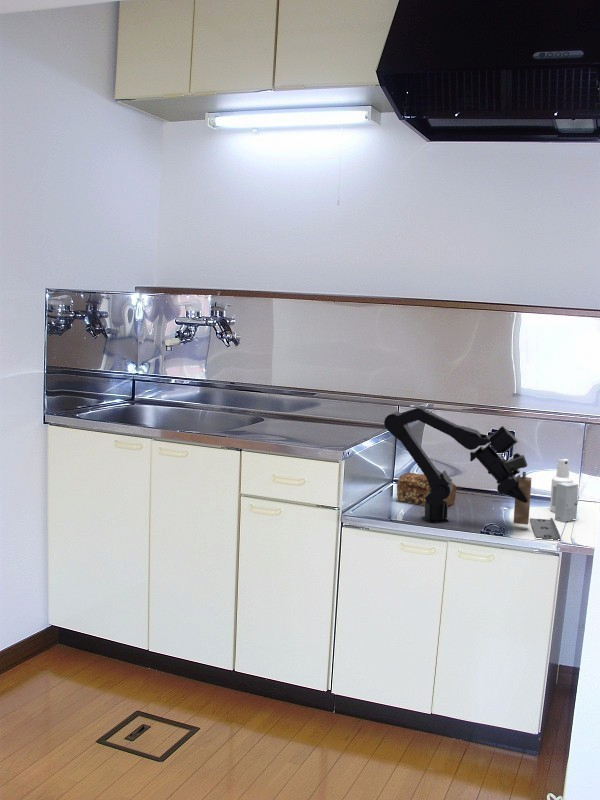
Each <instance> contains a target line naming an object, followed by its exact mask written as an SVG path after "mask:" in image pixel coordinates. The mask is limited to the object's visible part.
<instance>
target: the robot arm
mask: <svg viewBox="0 0 600 800" xmlns="http://www.w3.org/2000/svg"><path fill="white" fill-rule="evenodd" d="M383 421H384V422H383V424H384V425H383V426H384V428H385V429H386V430H387V432H388V433H390V434H391V435H392V436H393V437H395V439H397V440H398V441H399V442H401V444H402V445H403V447H404V448H405V449H406V451H407V453H409V455H410V456H411V458H412V459H413V461H414V462H415V464H416V465H417V466H418V467H419V469H420V470H421V472H422V473H423V474H424V475H425V476H426V478H427V481H428V484H429V487H430V489H431V491H430V492H429V493H428V494H427V496H426V497H425V499H426V501H425V506H424V516H421V519H423V520H424V521H427V522H429V523H430V524H435V523H447V522H449V519H448V507H449V506H447V502H446V501H444V499H446V498H447V497H448V496H449V495H450V493H451V492H452V489H453V484H452V482H453V479H452V478H451V477H449V475H448V473H447V471H446V470H443V471H440V470H439V469H438V468H437V467H436V465H434V463H433V462H432V460H431V459H430V458H429V457H428V455H427V454H426V452H425V451H424V449H423V448H422V446H421V445H420V443H419V442H418V441H417V439H416V438H415V437H414V435H413V434H412V432H411V429H410V426H409V425H410V424H411V423H414V422H416V421H420V422H422V423H423V424H425V425H428V426H429V427H432V428H433V429H435V430H438V431H440V432H442V433H443V434H445V435H447V436H449V437H451V438H452V439H454V440H455V442H457V443H458V444H460V445H461V446H463V448H465V449H466V450H470V452H469V455H470V457H469V458H470V459H469V460H470V462H473V461H474V460H475V459H476V460H478V461H479V462H480V464H481V465H482V466H483V467H484V469H485V470H487V474H488V475H491V476H492V477H493V478H494V479H495V480H496V484H497V486H496V487H497V488H496V490H497V492H498V493H499V494H500V495H503V494H504V495H507V496H509V497H511V498H513V499H514V500H515V499H517V500H519V501H522V502H524V503H526V502H528V500H527V499H526V497H525V495H524V494H523V492H522V491H521V489H520V488H519V480H517V479H516V478H517V476H518V477H521V474H520V472H521V471H520V469H525V468H527V467H528V463H527V460H526V457H525V454H524V455H523V454H522V455H521V454H520V453H518V452H516V453H513V456H512V458H510V459H508V460H506V459H505V458H502V457H501V456H500V455H499V454H500V453H502V454H505V453H506V452H507V451H509V450H510V449H511V448H512V447H513V446H514V445H516V444H517V443H518V439H517V438H516V437H515V435H514V434H513V433H512V432H510V431H509V430H508V429H507V428H505V426H504V425H502V426H500V427H499V428H498V429H497V430H496V431H495V432H494V433H492V435H488V434H483V433H481V432H480V431H479V430H477V429H474V428H471V427H468V426H464V425H463V426H462V425H460V424H457V423H454V422H452V421H449V420H447V418H446V419H445V418H443V417H442V416H439V415H437V414H436V413H434V412H431V411H429V410H427V409H426V408H425V407H423V406H417V407H415V408H413V409H410V410H406V411H402V412H399V411H393V412H391V413H390V414H388V415H387V416H386V417H385V418H384V420H383ZM483 446H484V447H483ZM477 448H478V449H477ZM474 450H475V451H474ZM517 474H518V475H517ZM516 475H517V476H516Z"/></svg>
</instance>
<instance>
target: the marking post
mask: <svg viewBox="0 0 600 800" xmlns="http://www.w3.org/2000/svg"><path fill="white" fill-rule="evenodd" d="M516 477H517V478H516V479H517V480H519V488H520V489H521V491H522V492H523V494H524V495H525V497H526V499H527V500H528V502H526V503H524V502H522V501H519V500H517V499H515V498H514V506H513V507H514V509H513V524H517V525H518V524H519V525H525V526H526V525H529V523H530V508H531V506H530V505H531V491H532V477H528V476H527V472H526V471H522V476H520V477H518V475H517V476H516Z"/></svg>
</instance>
